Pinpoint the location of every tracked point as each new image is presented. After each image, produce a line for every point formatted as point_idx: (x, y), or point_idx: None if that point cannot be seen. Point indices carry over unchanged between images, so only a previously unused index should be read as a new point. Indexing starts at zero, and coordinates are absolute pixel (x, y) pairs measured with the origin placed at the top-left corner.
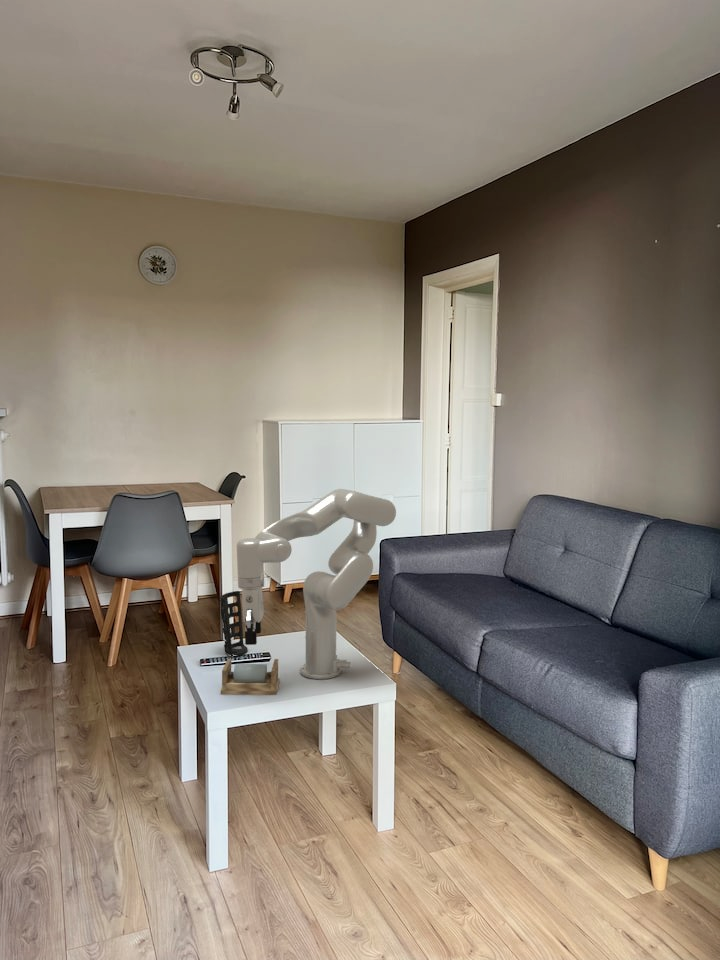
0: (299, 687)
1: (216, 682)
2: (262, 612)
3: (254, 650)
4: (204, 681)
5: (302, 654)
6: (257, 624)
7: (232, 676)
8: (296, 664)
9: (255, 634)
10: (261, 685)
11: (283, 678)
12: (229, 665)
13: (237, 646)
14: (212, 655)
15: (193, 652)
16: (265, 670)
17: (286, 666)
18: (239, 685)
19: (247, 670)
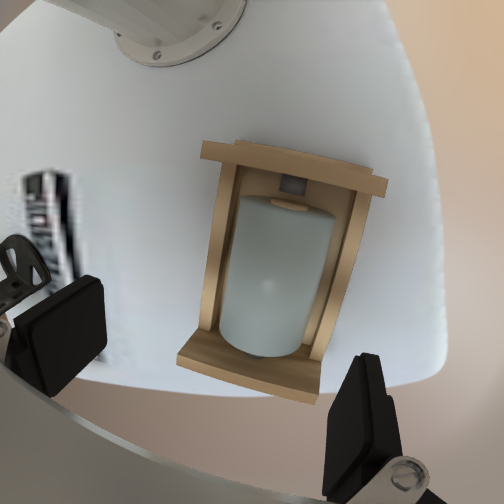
0: (310, 73)
1: None
2: (7, 455)
3: (16, 216)
4: (204, 378)
5: (44, 82)
6: (57, 332)
7: None
8: (99, 87)
9: (388, 422)
10: (362, 232)
11: (208, 125)
12: (225, 361)
13: (8, 258)
14: None
15: None
16: (305, 214)
17: (107, 118)
18: (336, 315)
19: (302, 303)
